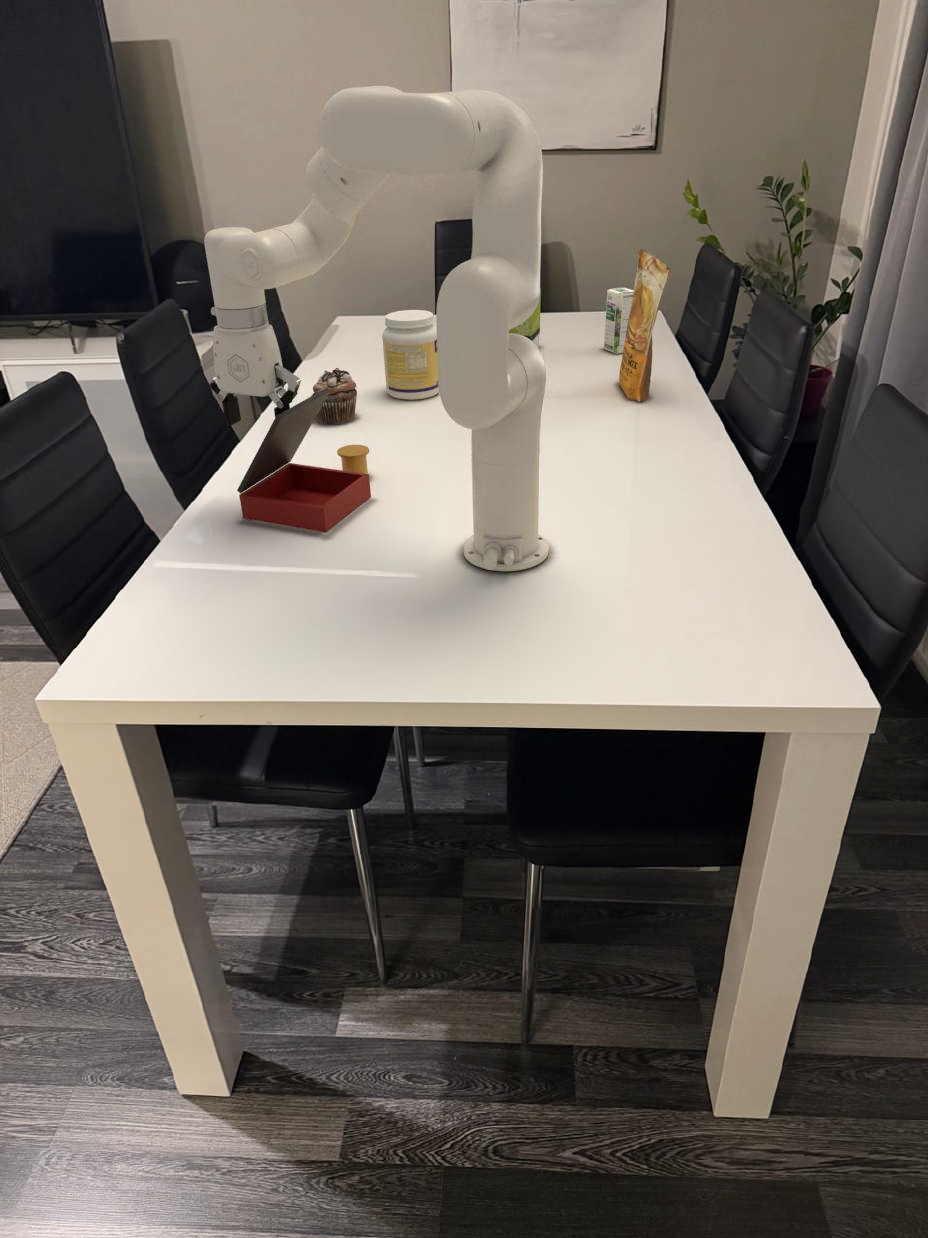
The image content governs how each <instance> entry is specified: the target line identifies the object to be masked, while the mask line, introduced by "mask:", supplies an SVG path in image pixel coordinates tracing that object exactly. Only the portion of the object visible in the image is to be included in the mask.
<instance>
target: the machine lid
mask: <svg viewBox="0 0 928 1238" xmlns="http://www.w3.org/2000/svg"><path fill="white" fill-rule="evenodd" d="M330 391H331V390H330V389H328V388H325V389H323V390H322V391H320V392H318V393H316V394H315V395H313V396H311V395H310V396H309V397H307V398H306V399H303V400H302V401H300V402H299V403H297V404H295V405H293V406H290V408H289V409H288V410H286V411H284V412H282V413H281V414H279V415H277V416H276V417H275V416H274V419H273V421H272V423H271V425H270V426H269V429H268V431H267V433H266V434H265V437H264V438H263V440H262V442H261V444H260V446H259V448H258V449H257V452H256V454H255V456H254V457H253V459H252V461H251V463H250V464H249V467H248V468H247V470H246V473H245V474H244V476H243V478H242V480H241V481H240V484H239V486H238V487H237V489H236V491H237V492H238V493H239V495H240V494H241V493H243V492H245V491H246V490H248V489H249V488H251V487H252V486H254V485H256V484H257V483H259V482H260V481H262V480H263V479H265V478H266V477H268V476H270V475H271V474H273V473H274V472H276V471H277V470H279V469H280V468H282V467H284V466H285V465H287V464H288V463H292V460H293V459H294V456H295V455H296V453H297V451H298V449H299V448H300V446H301V444H302V442H303V440H304V439H305V437H306V435H307V434H308V432H309V430H310V429H311V427H312V425H313V424H314V421H315V419H317V418H316V416H317V414H318V412H319V411H320V409H321V407H322V405H323V403H324V402H325V400H326V398H327V396H328V395H329V393H330Z"/></svg>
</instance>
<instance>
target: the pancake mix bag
mask: <svg viewBox="0 0 928 1238" xmlns="http://www.w3.org/2000/svg"><path fill="white" fill-rule="evenodd" d="M671 272H672V270H671V268H670V266H669V265H668V264H667V263H666V261H664V260H662V259H661V258H658V257H657V256H656V255H654V254H653V253H652V252H648V251H647V250H645V249H642V248H640V249H639V250H636V270H635V277H634V285H633V291H634V292H633V301H632V306H631V311H630V315H629V320H628V325H627V332H626V338H625V344H624V350H623V353H622V356H621V362H620V367H619V373H618V381H619V386H620V388H621V389H622V391H623V393H624V395H625V396H626V398H627V399H628V400H631V401H637V402H639V403H640V402H644V401H646V400H647V401H648V399H649V394H650V388H651V377H652V371H653V369H652V368H653V330H654V327H655V324H656V320H657V316H658V312H659V309H660V305H661V300H662V298H663V296H664V292H665V290H666V287H667V285H668V282H669V280H670V278H671Z"/></svg>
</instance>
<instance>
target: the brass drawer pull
mask: <svg viewBox="0 0 928 1238" xmlns="http://www.w3.org/2000/svg"><path fill="white" fill-rule="evenodd" d="M369 453H370V447H368V446H366V445H362V444H347V445H343V446H341V447H339V448H338V449H337V450H336V455H337V456H338V457H340V460H341V470H342V471H349V472H356V473H363V474H369V468H368V458H367V455H368V454H369Z"/></svg>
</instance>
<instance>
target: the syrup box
mask: <svg viewBox="0 0 928 1238" xmlns="http://www.w3.org/2000/svg"><path fill="white" fill-rule="evenodd" d="M633 292H634V289H631V288H627V287H613V288H610V289H607V291H606V305H605V307H606V308H605V324H604V342H603V350H605V351H608V352H610V353H613V354H615V355H619V354H623V350H624V344H625V338H626V332H627V325H628V320H629V315H630V311H631V306H632V301H633Z"/></svg>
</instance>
